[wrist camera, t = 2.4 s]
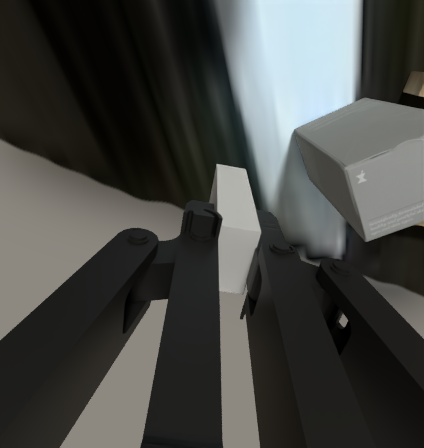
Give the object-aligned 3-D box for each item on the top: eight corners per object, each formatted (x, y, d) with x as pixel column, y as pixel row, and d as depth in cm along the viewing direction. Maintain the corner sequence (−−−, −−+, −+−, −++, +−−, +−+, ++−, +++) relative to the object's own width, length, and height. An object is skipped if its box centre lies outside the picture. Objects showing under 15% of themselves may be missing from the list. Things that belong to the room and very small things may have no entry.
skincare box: (308, 178, 39) (360, 254, 25) (289, 121, 35) (337, 170, 22) (382, 149, 37) (483, 213, 23) (369, 86, 34) (477, 116, 20)
